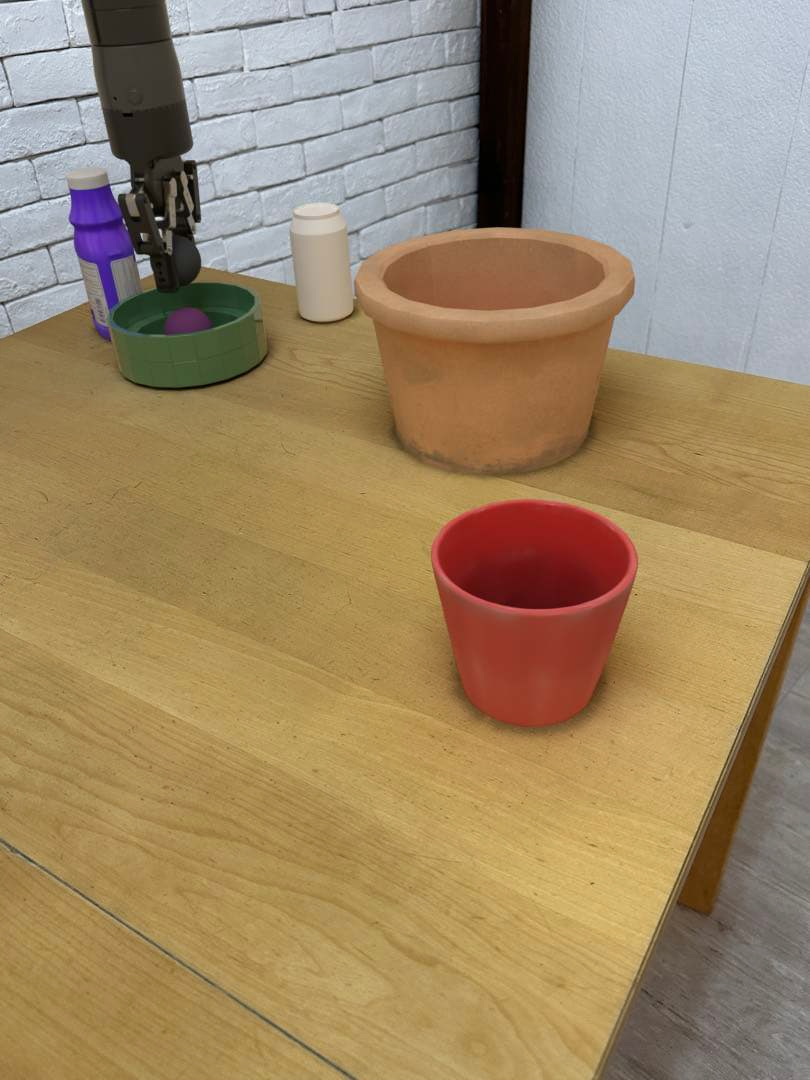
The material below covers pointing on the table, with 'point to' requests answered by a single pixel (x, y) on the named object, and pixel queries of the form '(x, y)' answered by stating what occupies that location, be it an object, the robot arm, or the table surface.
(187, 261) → the grey ball
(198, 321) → the plum ball
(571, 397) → the pottery
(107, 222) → the bottle
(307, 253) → the beverage can
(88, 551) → the table surface
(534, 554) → the flower pot
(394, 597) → the table surface
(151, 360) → the green bowl
